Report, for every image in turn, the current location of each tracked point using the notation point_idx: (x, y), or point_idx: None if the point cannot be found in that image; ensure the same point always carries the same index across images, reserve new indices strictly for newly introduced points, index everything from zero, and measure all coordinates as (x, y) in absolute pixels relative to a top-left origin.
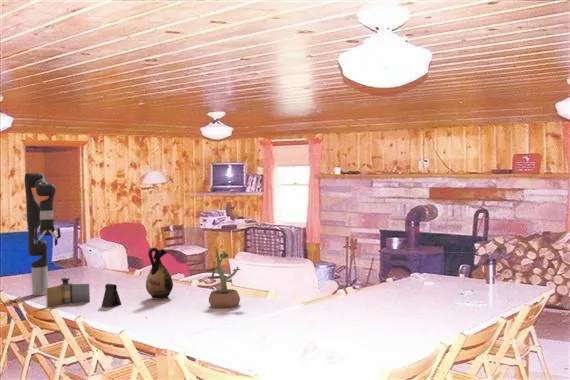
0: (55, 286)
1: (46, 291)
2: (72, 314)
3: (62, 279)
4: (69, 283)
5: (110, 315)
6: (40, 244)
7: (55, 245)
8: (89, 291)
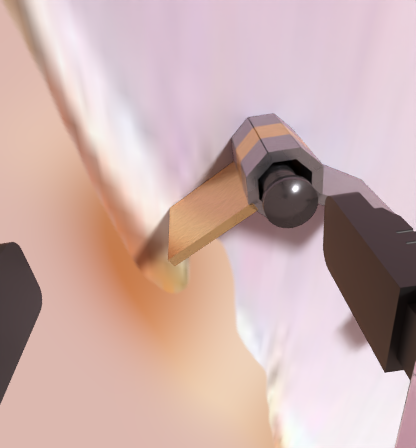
0: (219, 230)
1: (170, 250)
2: (258, 351)
3: (269, 219)
4: (308, 163)
5: (354, 390)
6: (21, 340)
7: (331, 261)
8: (383, 203)
